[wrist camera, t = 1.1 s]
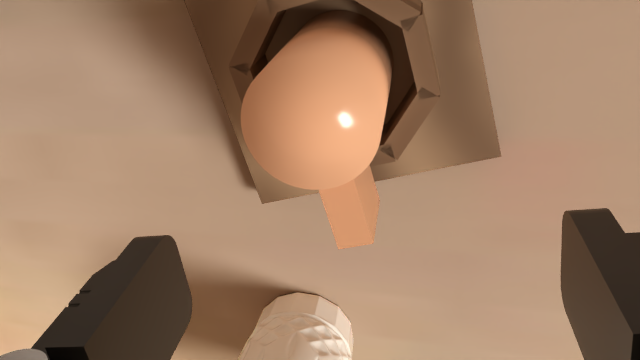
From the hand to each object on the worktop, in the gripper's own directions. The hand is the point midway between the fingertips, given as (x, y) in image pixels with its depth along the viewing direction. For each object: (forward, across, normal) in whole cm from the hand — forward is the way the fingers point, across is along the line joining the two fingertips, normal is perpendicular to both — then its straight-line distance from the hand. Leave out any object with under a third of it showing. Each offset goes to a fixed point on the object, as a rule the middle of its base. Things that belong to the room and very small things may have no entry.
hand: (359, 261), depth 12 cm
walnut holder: (+21, +2, 0) cm, 21 cm away
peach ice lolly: (+20, +2, +2) cm, 20 cm away
